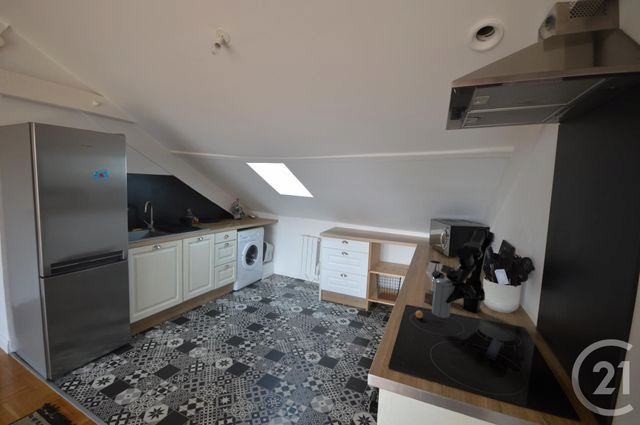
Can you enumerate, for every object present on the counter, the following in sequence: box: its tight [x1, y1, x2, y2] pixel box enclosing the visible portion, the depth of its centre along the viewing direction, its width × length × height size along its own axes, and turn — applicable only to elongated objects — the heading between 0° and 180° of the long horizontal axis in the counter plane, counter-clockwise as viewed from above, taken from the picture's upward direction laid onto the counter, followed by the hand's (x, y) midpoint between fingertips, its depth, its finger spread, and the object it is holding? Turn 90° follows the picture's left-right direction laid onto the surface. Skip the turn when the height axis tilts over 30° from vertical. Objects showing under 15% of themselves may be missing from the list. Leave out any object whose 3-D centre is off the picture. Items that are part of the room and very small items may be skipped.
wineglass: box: [425, 260, 444, 291], centre depth 152 cm, size 8×8×18 cm
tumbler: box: [431, 278, 453, 319], centre depth 115 cm, size 6×6×14 cm
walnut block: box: [423, 289, 434, 305], centre depth 143 cm, size 5×5×5 cm
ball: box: [414, 310, 424, 319], centre depth 124 cm, size 3×3×3 cm
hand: (439, 298), depth 114 cm, fingers closed on tumbler, 7 cm apart
